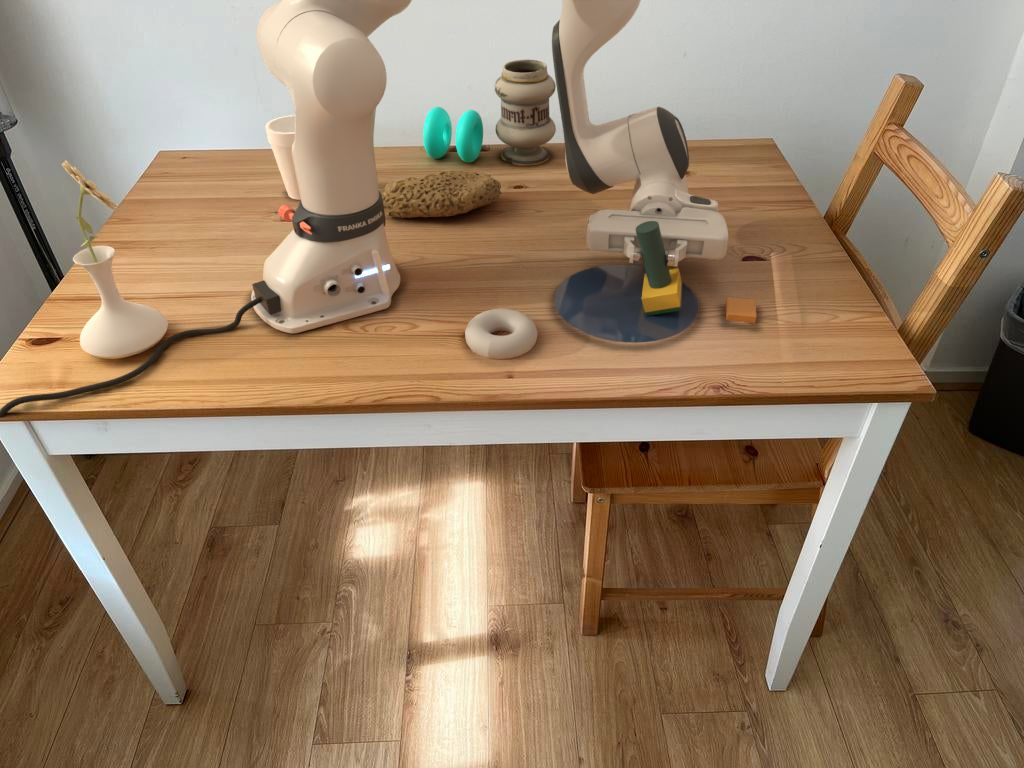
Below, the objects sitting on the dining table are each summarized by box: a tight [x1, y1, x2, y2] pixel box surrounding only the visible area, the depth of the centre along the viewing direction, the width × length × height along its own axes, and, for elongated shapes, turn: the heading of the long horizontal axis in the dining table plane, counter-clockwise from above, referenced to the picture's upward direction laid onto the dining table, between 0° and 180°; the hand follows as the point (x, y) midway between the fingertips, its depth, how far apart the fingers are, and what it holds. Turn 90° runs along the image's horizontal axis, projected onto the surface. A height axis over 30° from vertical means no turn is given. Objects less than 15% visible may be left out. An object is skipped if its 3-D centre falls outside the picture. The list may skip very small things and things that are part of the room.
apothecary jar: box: [494, 58, 557, 167], centre depth 152 cm, size 12×12×18 cm
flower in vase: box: [61, 160, 169, 360], centre depth 100 cm, size 13×11×25 cm
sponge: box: [381, 170, 502, 219], centre depth 136 cm, size 13×8×20 cm
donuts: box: [422, 106, 484, 163], centre depth 154 cm, size 10×10×10 cm
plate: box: [553, 264, 700, 344], centre depth 113 cm, size 21×21×1 cm
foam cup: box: [264, 114, 301, 201], centre depth 141 cm, size 10×9×13 cm
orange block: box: [725, 297, 757, 324], centre depth 110 cm, size 4×4×2 cm
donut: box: [464, 308, 539, 360], centre depth 105 cm, size 10×4×10 cm
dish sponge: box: [636, 221, 683, 316], centre depth 108 cm, size 7×5×12 cm
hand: (653, 260), depth 107 cm, fingers closed on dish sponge, 4 cm apart
